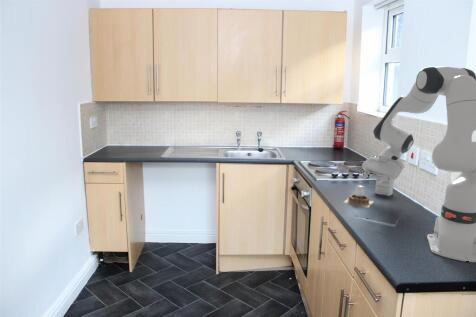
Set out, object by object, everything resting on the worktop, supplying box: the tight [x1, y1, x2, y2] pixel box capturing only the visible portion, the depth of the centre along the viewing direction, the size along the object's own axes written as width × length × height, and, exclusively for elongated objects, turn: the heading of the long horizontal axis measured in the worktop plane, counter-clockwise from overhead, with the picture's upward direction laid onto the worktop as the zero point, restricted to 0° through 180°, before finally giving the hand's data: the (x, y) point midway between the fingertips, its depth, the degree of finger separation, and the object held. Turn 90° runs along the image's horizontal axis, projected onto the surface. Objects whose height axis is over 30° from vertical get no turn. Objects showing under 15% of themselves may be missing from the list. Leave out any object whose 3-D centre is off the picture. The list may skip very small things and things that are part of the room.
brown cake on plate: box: [342, 193, 374, 208], centre depth 184 cm, size 12×12×4 cm
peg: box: [354, 184, 366, 199], centre depth 184 cm, size 4×4×8 cm
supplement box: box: [374, 174, 395, 197], centre depth 201 cm, size 7×7×13 cm
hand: (371, 180), depth 186 cm, fingers open, 8 cm apart
